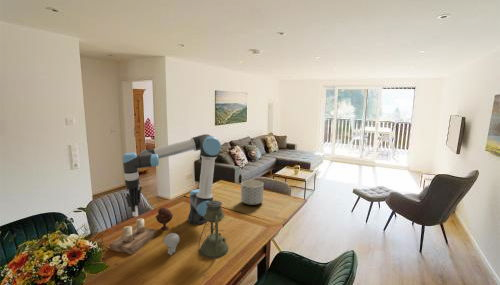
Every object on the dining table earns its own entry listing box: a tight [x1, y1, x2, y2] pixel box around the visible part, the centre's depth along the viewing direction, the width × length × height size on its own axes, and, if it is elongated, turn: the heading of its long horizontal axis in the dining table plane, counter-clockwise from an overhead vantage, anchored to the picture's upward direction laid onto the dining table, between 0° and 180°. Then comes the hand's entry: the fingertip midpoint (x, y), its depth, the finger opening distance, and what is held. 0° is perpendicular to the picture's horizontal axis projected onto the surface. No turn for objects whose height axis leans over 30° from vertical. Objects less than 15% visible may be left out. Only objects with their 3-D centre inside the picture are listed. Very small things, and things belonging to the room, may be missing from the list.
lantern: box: [198, 199, 229, 259], centre depth 149 cm, size 21×18×30 cm
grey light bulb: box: [163, 232, 180, 256], centre depth 145 cm, size 8×8×12 cm
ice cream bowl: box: [155, 207, 174, 232], centre depth 173 cm, size 11×11×15 cm
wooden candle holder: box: [109, 217, 158, 255], centre depth 157 cm, size 16×22×12 cm
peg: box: [123, 225, 133, 244], centre depth 152 cm, size 5×5×12 cm
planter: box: [240, 179, 264, 206], centre depth 219 cm, size 19×19×18 cm
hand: (135, 215), depth 155 cm, fingers closed
